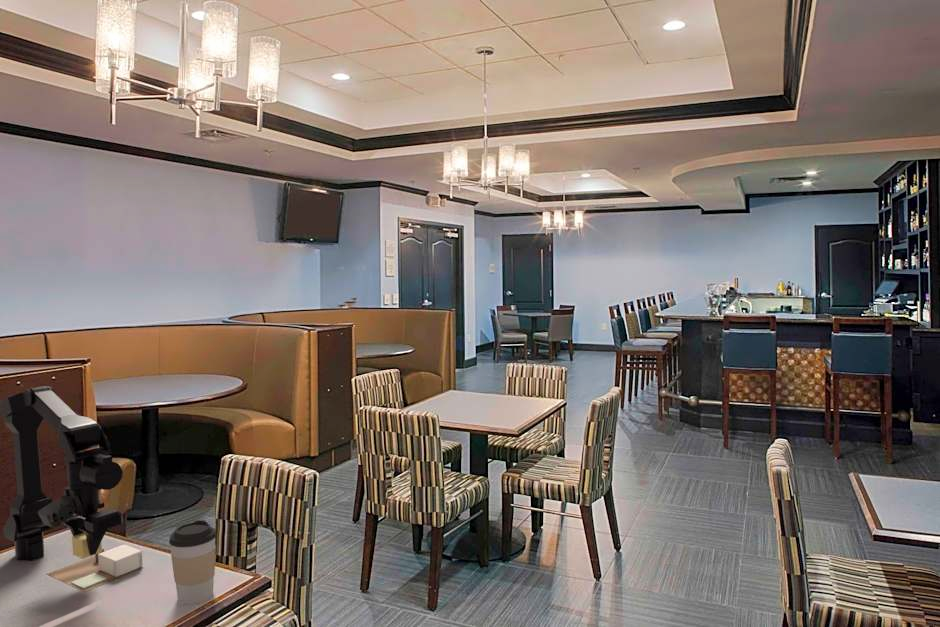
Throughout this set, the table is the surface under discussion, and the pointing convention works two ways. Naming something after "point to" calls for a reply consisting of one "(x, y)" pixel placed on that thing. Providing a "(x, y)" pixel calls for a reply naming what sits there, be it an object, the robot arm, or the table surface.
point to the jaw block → (82, 546)
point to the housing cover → (120, 560)
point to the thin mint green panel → (89, 580)
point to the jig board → (84, 572)
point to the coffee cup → (193, 561)
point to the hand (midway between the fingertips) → (87, 552)
